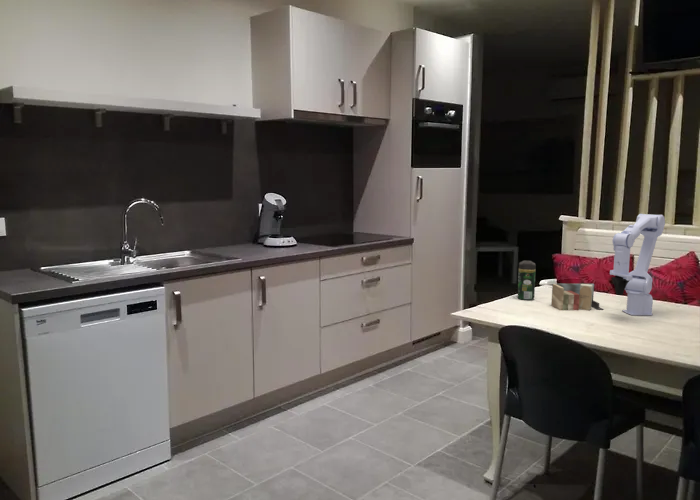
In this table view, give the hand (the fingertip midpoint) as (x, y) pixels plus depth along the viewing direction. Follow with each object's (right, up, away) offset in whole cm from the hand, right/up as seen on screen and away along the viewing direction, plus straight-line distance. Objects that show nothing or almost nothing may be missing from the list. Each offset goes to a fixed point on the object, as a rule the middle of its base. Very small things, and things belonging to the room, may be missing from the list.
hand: (619, 294), depth 228 cm
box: (-6, -8, +20) cm, 22 cm away
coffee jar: (-26, -5, +40) cm, 48 cm away
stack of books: (-9, -8, +22) cm, 25 cm away
